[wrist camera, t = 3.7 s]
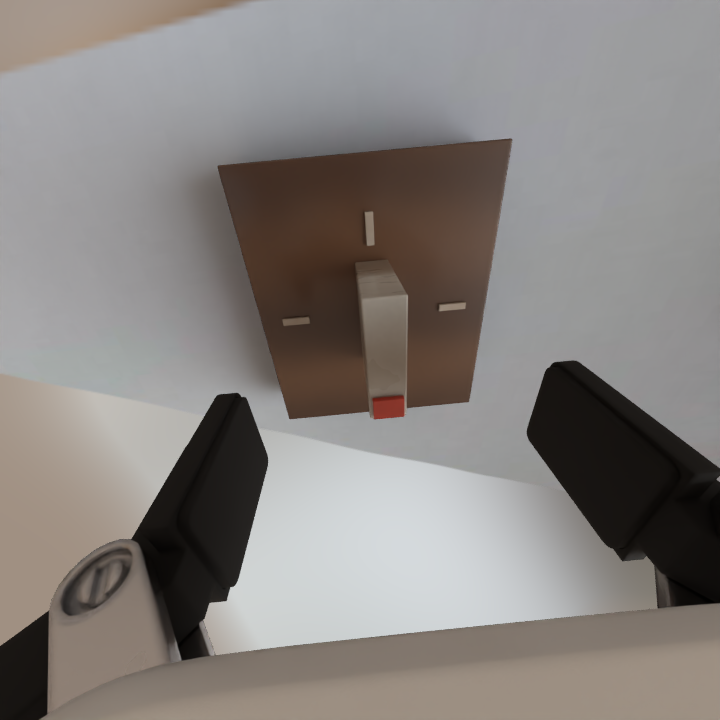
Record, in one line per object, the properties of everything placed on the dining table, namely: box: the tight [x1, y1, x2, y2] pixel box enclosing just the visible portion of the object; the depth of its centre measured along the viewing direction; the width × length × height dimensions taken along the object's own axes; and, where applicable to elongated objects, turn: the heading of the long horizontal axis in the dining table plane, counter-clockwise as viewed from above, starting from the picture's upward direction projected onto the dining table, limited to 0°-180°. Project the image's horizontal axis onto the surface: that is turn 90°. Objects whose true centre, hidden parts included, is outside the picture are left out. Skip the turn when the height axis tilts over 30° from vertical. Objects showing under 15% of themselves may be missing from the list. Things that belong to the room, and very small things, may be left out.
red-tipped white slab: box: [355, 260, 408, 419], centre depth 13 cm, size 6×2×5 cm, turn 4°
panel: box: [218, 139, 512, 419], centre depth 17 cm, size 14×12×3 cm
